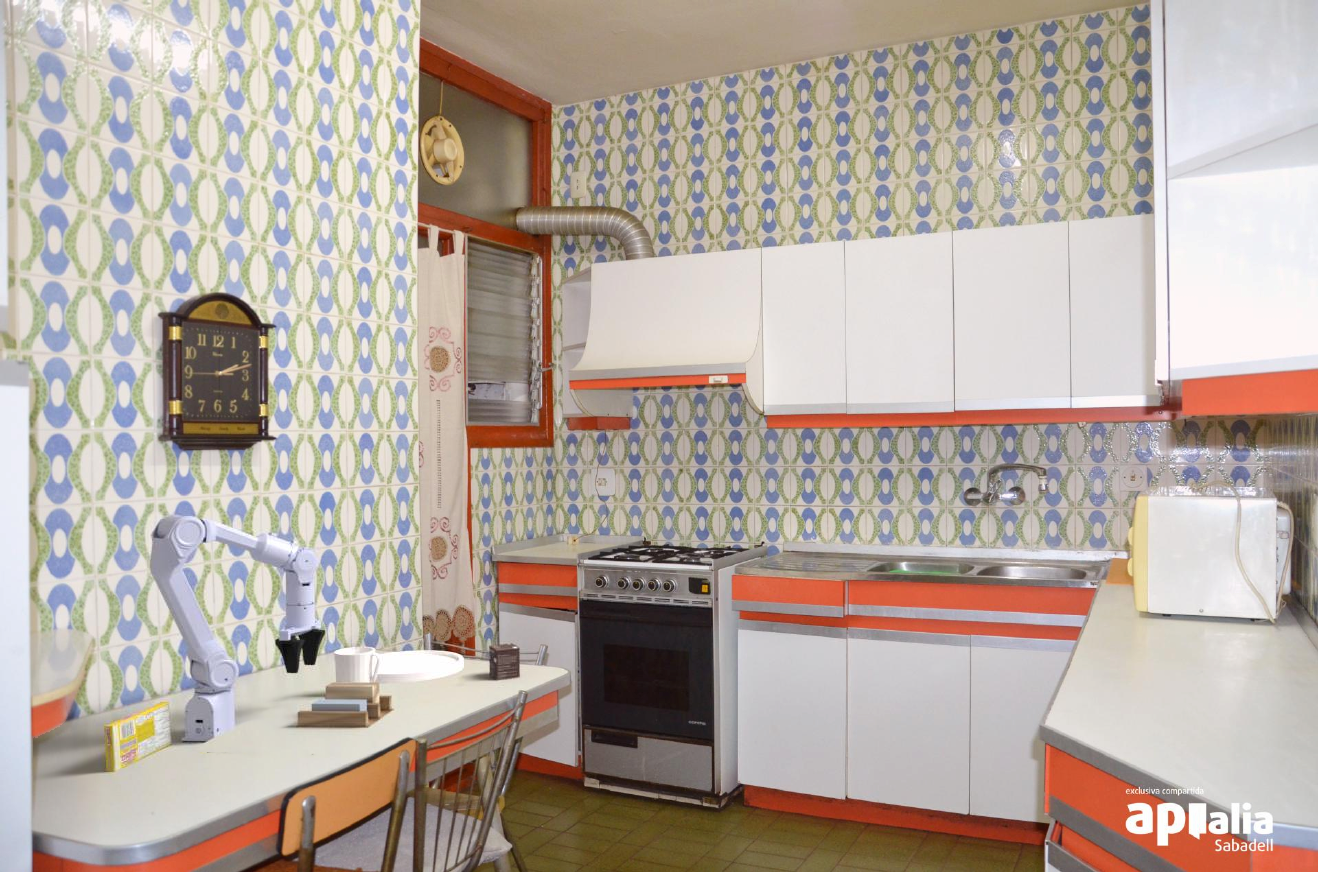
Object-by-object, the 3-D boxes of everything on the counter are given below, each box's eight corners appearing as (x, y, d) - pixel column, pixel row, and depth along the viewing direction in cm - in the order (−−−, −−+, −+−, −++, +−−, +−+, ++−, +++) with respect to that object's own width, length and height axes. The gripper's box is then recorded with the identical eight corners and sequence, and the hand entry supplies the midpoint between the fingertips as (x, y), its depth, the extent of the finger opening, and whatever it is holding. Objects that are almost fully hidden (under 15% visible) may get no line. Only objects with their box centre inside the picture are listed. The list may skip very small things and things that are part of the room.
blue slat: (360, 724, 201) (359, 703, 201) (311, 723, 202) (311, 703, 202) (367, 719, 205) (366, 699, 205) (319, 718, 206) (319, 699, 206)
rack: (367, 732, 199) (367, 712, 199) (294, 731, 200) (294, 712, 200) (394, 713, 213) (394, 695, 213) (326, 712, 214) (325, 694, 214)
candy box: (162, 744, 194) (161, 701, 194) (172, 744, 194) (171, 701, 194) (104, 771, 178) (103, 724, 178) (115, 772, 178) (114, 724, 178)
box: (489, 675, 246) (488, 645, 246) (513, 672, 249) (512, 642, 249) (496, 680, 241) (495, 649, 241) (520, 677, 243) (519, 647, 243)
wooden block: (372, 715, 207) (372, 686, 207) (326, 715, 208) (325, 686, 209) (379, 711, 211) (379, 682, 211) (333, 710, 212) (332, 682, 212)
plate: (332, 685, 241) (331, 674, 241) (370, 660, 269) (369, 650, 269) (448, 683, 240) (448, 673, 240) (474, 658, 268) (474, 649, 268)
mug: (327, 700, 225) (326, 654, 225) (348, 690, 234) (347, 646, 234) (371, 702, 222) (370, 655, 223) (391, 692, 231) (390, 647, 231)
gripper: (301, 609, 205) (302, 676, 205) (334, 598, 220) (334, 661, 219) (269, 609, 206) (269, 676, 206) (303, 598, 220) (304, 661, 220)
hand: (301, 668), depth 213 cm, fingers open, 7 cm apart
